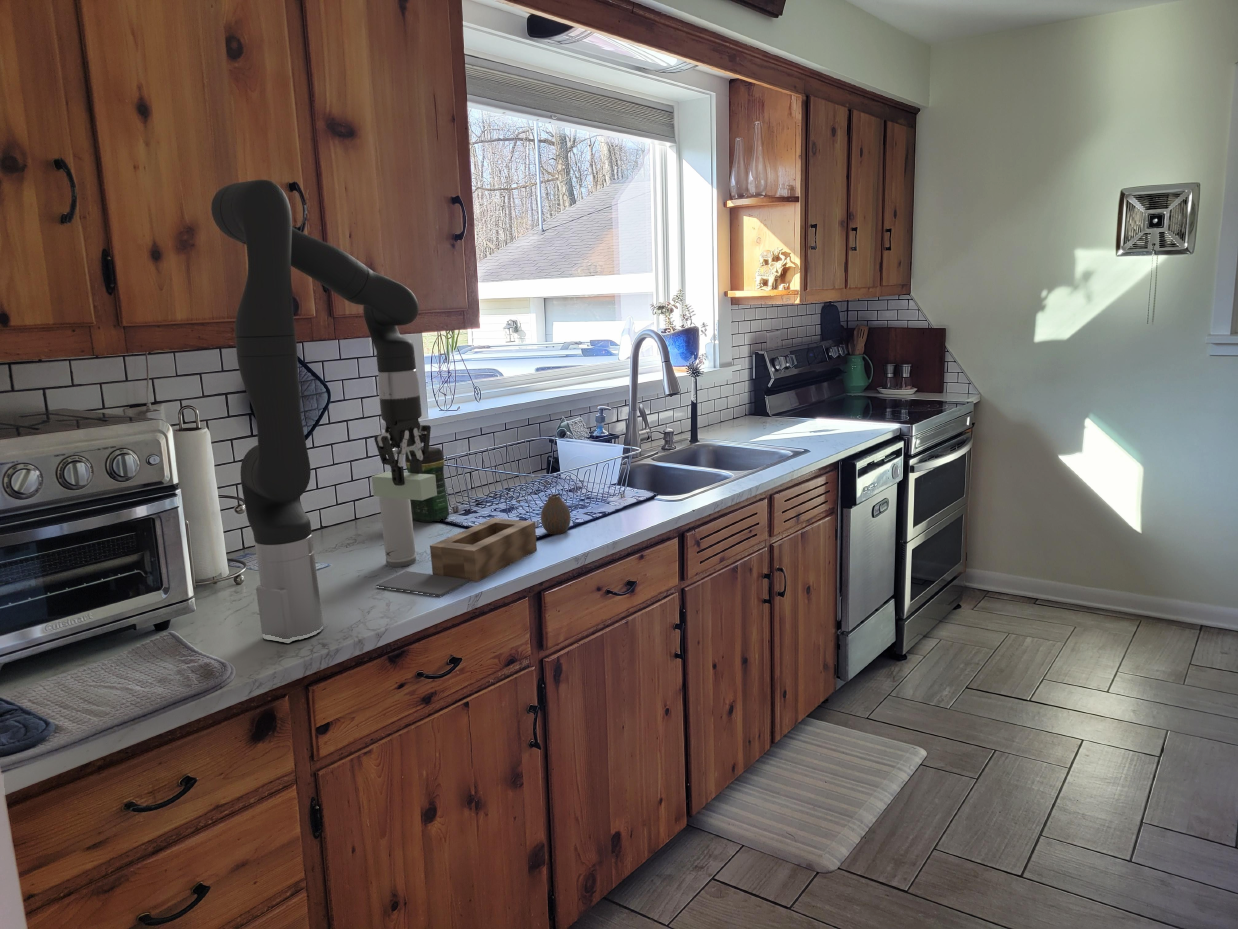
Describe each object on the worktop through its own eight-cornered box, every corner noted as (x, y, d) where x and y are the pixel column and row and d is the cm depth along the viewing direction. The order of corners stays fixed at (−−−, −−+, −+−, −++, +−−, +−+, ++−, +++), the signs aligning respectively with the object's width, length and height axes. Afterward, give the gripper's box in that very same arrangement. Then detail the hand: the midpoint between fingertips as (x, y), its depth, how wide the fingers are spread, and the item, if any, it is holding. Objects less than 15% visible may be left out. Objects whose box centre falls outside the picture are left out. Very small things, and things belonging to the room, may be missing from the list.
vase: (536, 534, 213) (533, 498, 211) (551, 527, 219) (549, 491, 217) (561, 537, 209) (559, 500, 208) (576, 529, 215) (574, 493, 214)
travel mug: (386, 569, 193) (376, 476, 188) (386, 560, 199) (376, 470, 195) (417, 565, 194) (408, 473, 190) (415, 556, 200) (406, 467, 196)
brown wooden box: (476, 582, 181) (474, 550, 180) (432, 576, 186) (429, 545, 185) (537, 550, 200) (534, 521, 199) (495, 545, 205) (493, 517, 204)
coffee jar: (455, 517, 232) (448, 445, 229) (430, 524, 226) (423, 450, 223) (430, 512, 238) (423, 442, 235) (405, 519, 232) (398, 447, 229)
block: (437, 494, 178) (435, 474, 177) (422, 500, 174) (420, 479, 173) (389, 491, 183) (387, 471, 182) (373, 496, 179) (371, 476, 179)
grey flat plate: (440, 597, 174) (440, 594, 174) (376, 587, 181) (375, 584, 181) (469, 582, 182) (469, 579, 181) (406, 573, 189) (406, 570, 189)
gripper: (389, 400, 166) (398, 492, 170) (439, 389, 179) (446, 475, 182) (357, 399, 170) (367, 489, 173) (408, 389, 182) (417, 473, 185)
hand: (408, 481), depth 178 cm, fingers closed on block, 4 cm apart
